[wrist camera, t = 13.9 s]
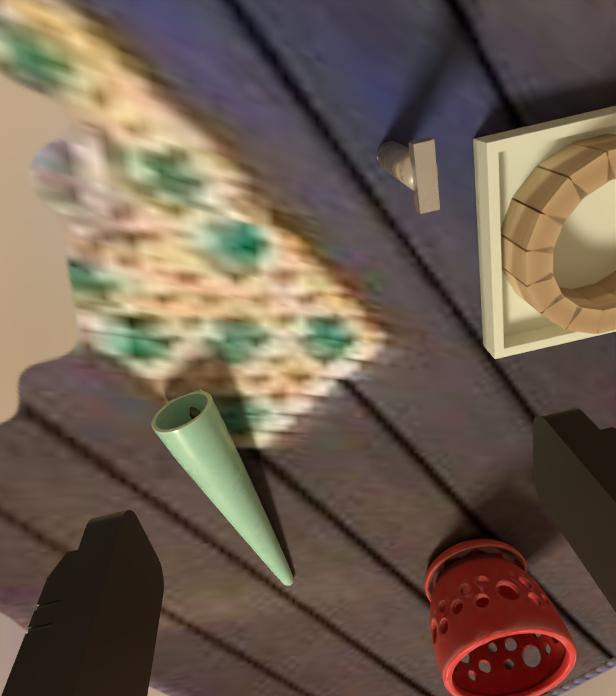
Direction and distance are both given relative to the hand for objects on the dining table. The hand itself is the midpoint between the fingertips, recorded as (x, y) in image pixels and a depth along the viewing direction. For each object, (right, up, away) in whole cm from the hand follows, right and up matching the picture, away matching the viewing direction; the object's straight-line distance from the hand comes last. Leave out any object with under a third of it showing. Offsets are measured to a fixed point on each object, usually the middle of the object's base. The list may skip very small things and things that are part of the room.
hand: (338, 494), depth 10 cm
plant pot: (+18, -22, +51) cm, 58 cm away
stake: (+5, +17, +28) cm, 33 cm away
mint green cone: (-7, -12, +43) cm, 45 cm away
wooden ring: (+22, +12, +32) cm, 40 cm away
